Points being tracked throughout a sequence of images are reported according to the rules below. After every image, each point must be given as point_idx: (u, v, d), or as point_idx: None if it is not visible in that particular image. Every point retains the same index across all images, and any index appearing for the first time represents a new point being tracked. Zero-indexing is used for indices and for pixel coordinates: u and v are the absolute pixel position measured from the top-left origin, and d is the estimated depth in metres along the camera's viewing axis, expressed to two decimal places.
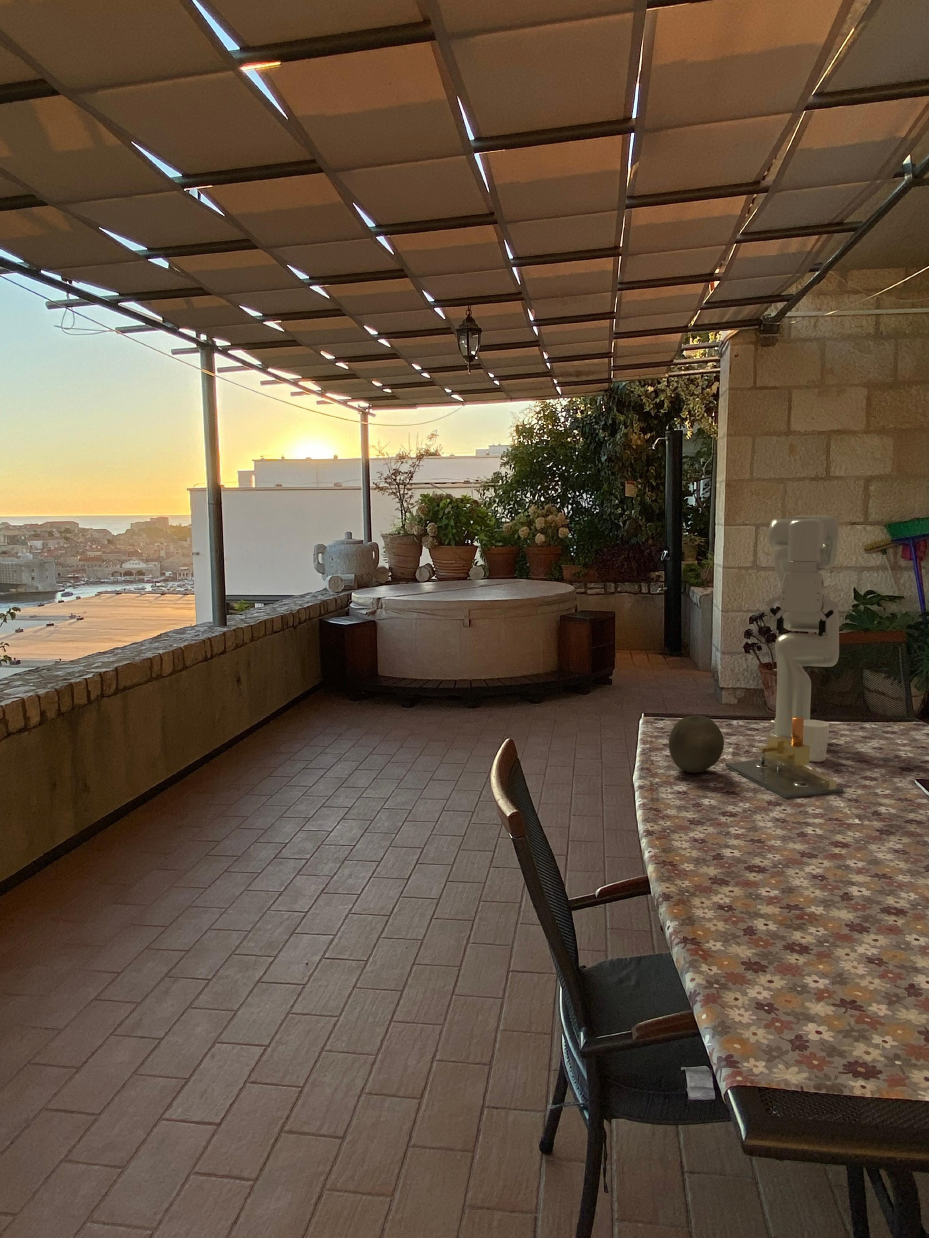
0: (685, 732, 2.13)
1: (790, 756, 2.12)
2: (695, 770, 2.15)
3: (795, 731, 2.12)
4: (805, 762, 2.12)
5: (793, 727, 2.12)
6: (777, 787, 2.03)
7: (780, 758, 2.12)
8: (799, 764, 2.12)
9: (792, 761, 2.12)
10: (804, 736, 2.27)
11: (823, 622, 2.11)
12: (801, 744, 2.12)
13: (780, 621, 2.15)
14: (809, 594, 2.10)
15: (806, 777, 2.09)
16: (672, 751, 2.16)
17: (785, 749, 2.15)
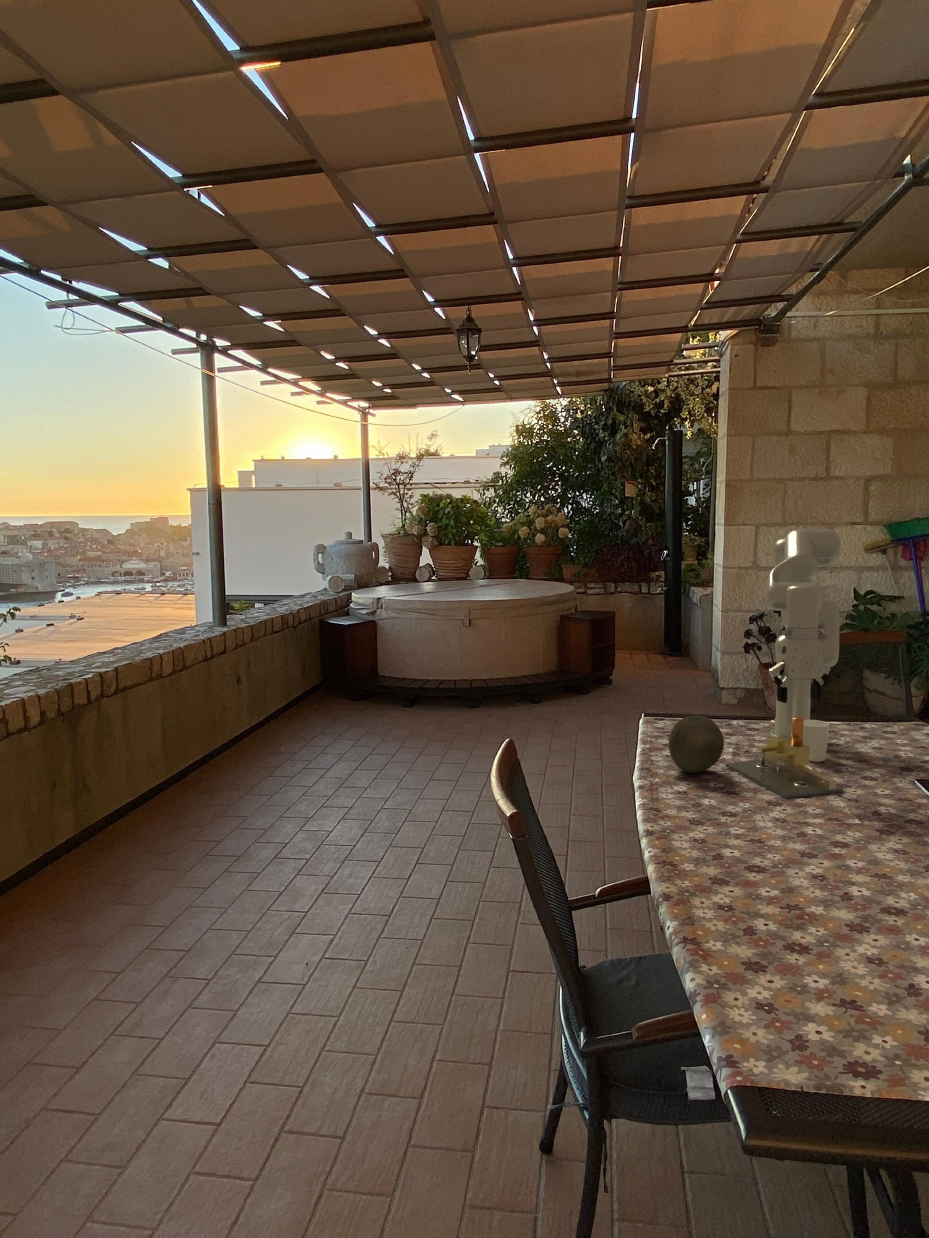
0: (685, 732, 2.13)
1: (790, 756, 2.12)
2: (695, 770, 2.15)
3: (795, 731, 2.12)
4: (805, 762, 2.12)
5: (793, 727, 2.12)
6: (777, 787, 2.03)
7: (780, 758, 2.12)
8: (799, 764, 2.12)
9: (792, 761, 2.12)
10: (804, 736, 2.27)
11: None
12: (801, 744, 2.12)
13: None
14: None
15: (806, 777, 2.09)
16: (672, 751, 2.16)
17: (785, 749, 2.15)
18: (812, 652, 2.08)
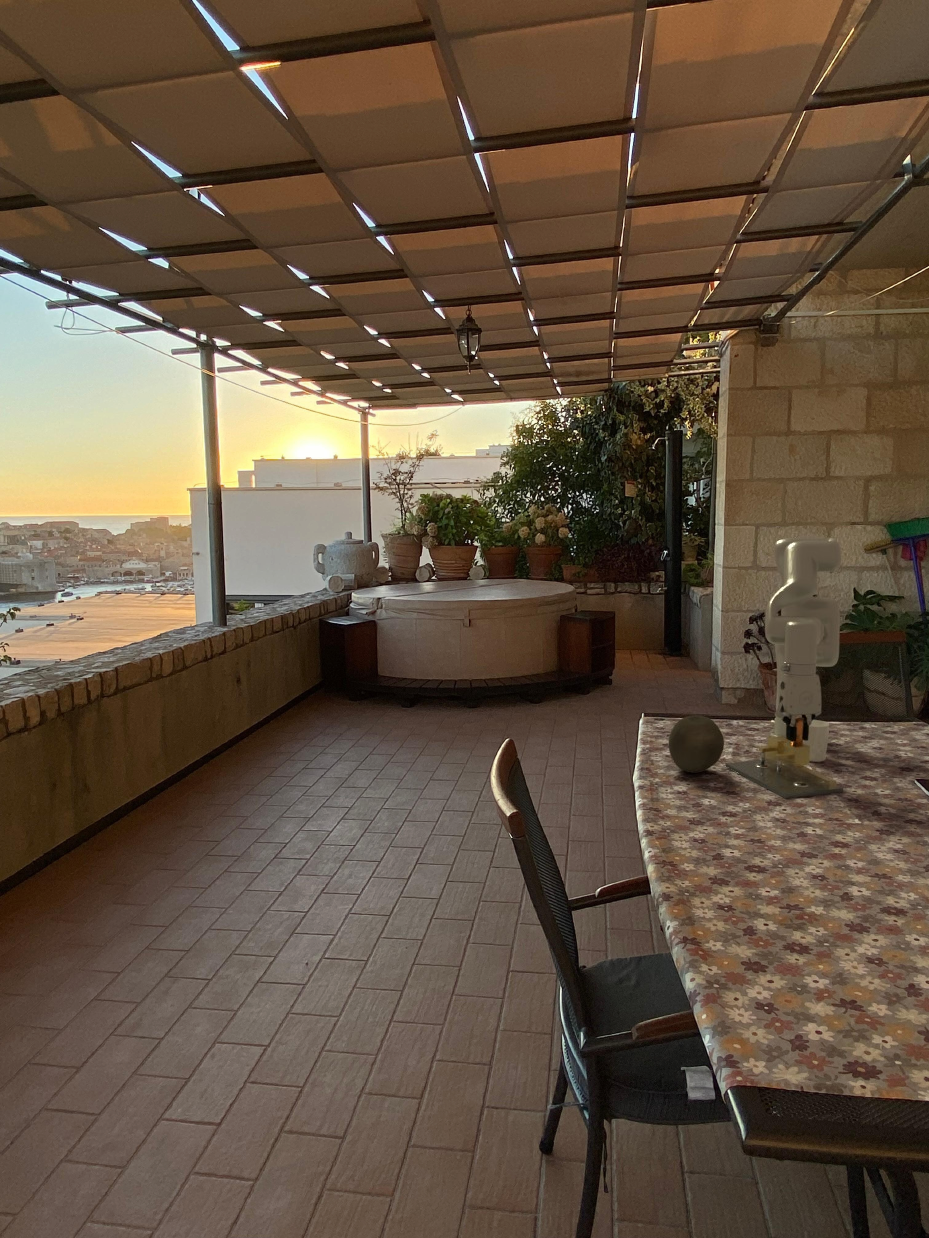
0: (685, 732, 2.13)
1: (790, 756, 2.12)
2: (695, 770, 2.15)
3: None
4: (805, 762, 2.12)
5: None
6: (777, 787, 2.03)
7: (780, 758, 2.12)
8: (799, 764, 2.12)
9: (792, 761, 2.12)
10: None
11: None
12: (801, 744, 2.12)
13: None
14: None
15: (806, 777, 2.09)
16: (672, 751, 2.16)
17: (785, 749, 2.15)
18: (811, 688, 2.09)
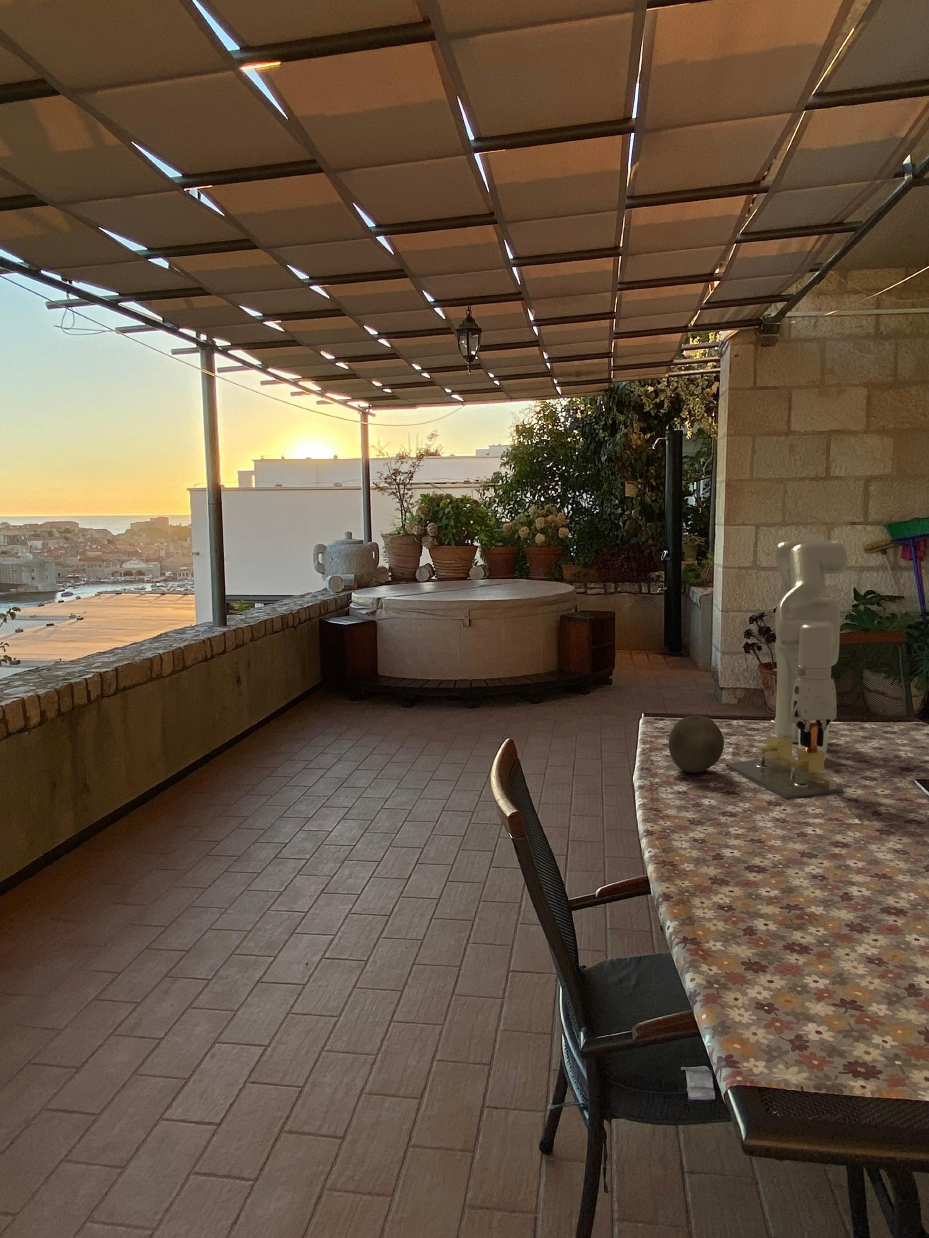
0: (685, 732, 2.13)
1: (804, 762, 2.07)
2: (695, 770, 2.15)
3: None
4: (820, 768, 2.07)
5: None
6: (777, 787, 2.03)
7: (794, 764, 2.06)
8: (813, 770, 2.06)
9: (806, 767, 2.07)
10: None
11: None
12: (815, 750, 2.07)
13: None
14: None
15: (806, 777, 2.09)
16: (673, 751, 2.16)
17: (799, 755, 2.09)
18: (826, 692, 2.04)
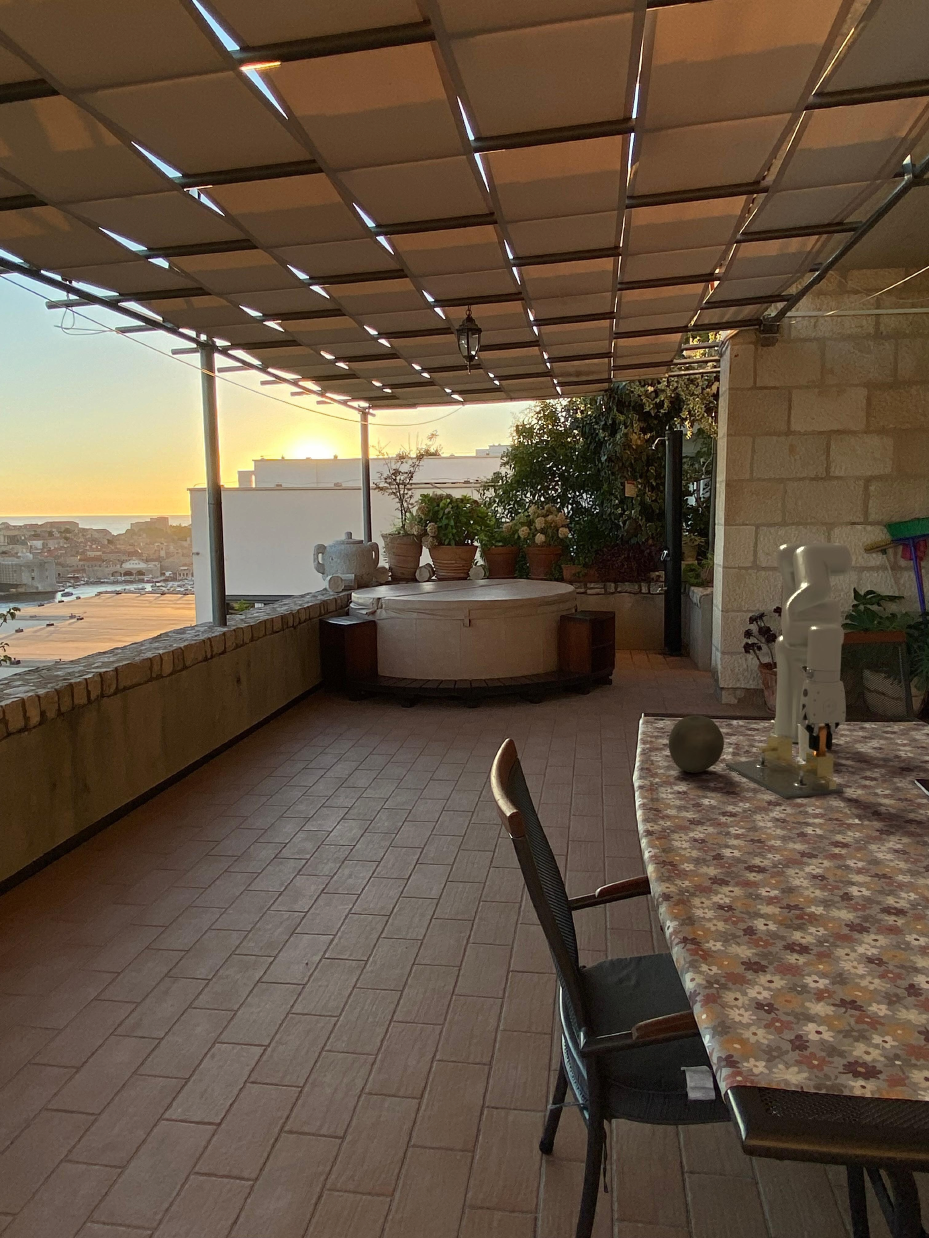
0: (685, 732, 2.13)
1: (813, 766, 2.04)
2: (695, 770, 2.15)
3: None
4: (828, 772, 2.04)
5: None
6: (777, 787, 2.03)
7: (802, 768, 2.03)
8: (822, 774, 2.03)
9: (815, 771, 2.04)
10: (804, 736, 2.27)
11: None
12: (824, 754, 2.04)
13: None
14: None
15: (806, 777, 2.09)
16: (673, 751, 2.16)
17: (807, 759, 2.06)
18: (835, 695, 2.01)
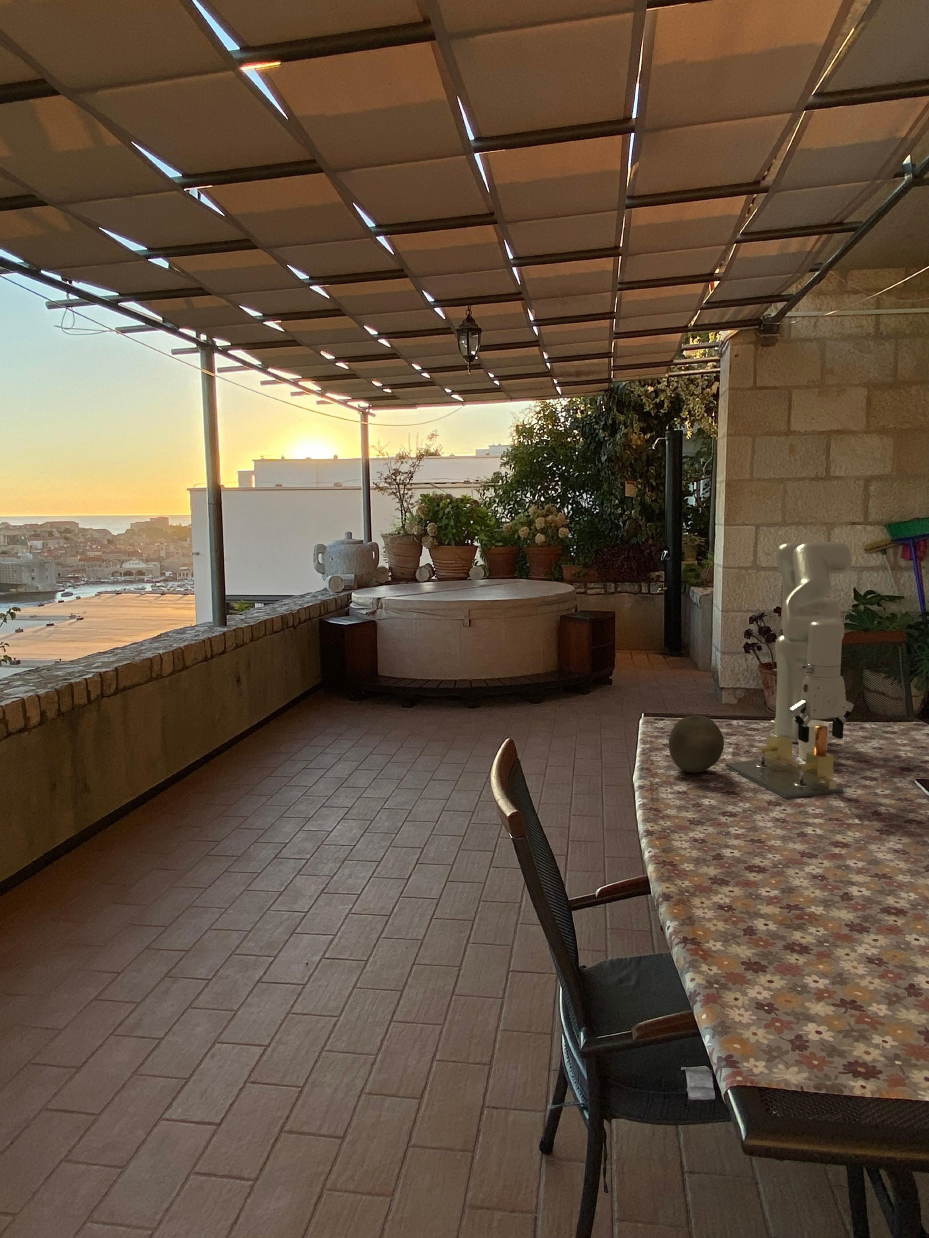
0: (685, 732, 2.13)
1: (813, 766, 2.04)
2: (695, 770, 2.15)
3: (818, 741, 2.03)
4: (829, 772, 2.04)
5: (816, 736, 2.04)
6: (777, 787, 2.03)
7: (803, 768, 2.03)
8: (822, 774, 2.03)
9: (815, 771, 2.04)
10: None
11: None
12: (824, 754, 2.04)
13: None
14: None
15: (806, 777, 2.09)
16: (672, 751, 2.16)
17: (807, 759, 2.06)
18: (835, 690, 2.01)
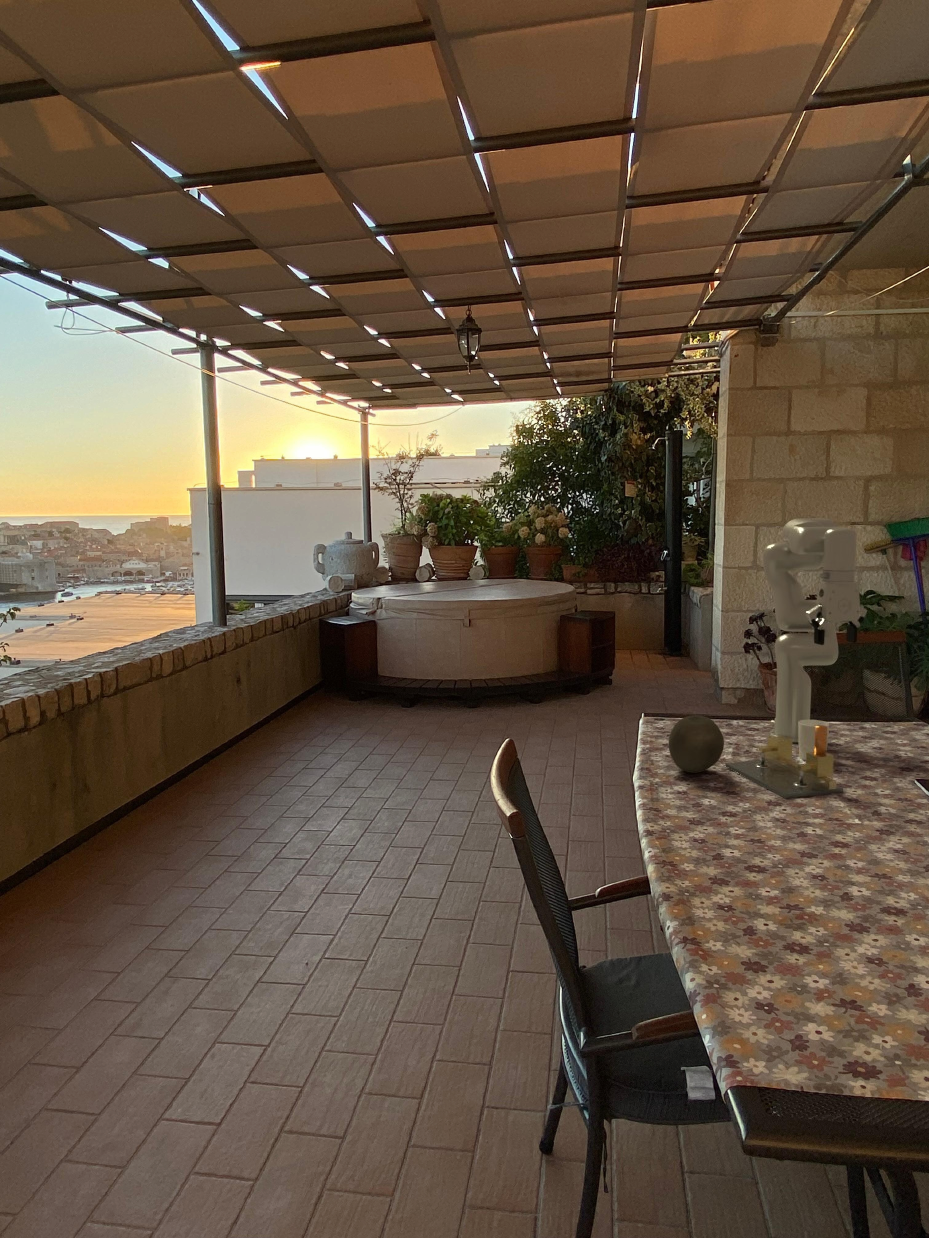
0: (685, 732, 2.13)
1: (813, 766, 2.04)
2: (695, 770, 2.15)
3: (818, 741, 2.03)
4: (829, 772, 2.04)
5: (816, 736, 2.04)
6: (777, 787, 2.03)
7: (803, 768, 2.03)
8: (822, 774, 2.03)
9: (815, 771, 2.04)
10: (804, 736, 2.27)
11: None
12: (824, 754, 2.04)
13: None
14: None
15: (806, 777, 2.09)
16: (672, 751, 2.16)
17: (807, 759, 2.06)
18: (849, 595, 2.11)
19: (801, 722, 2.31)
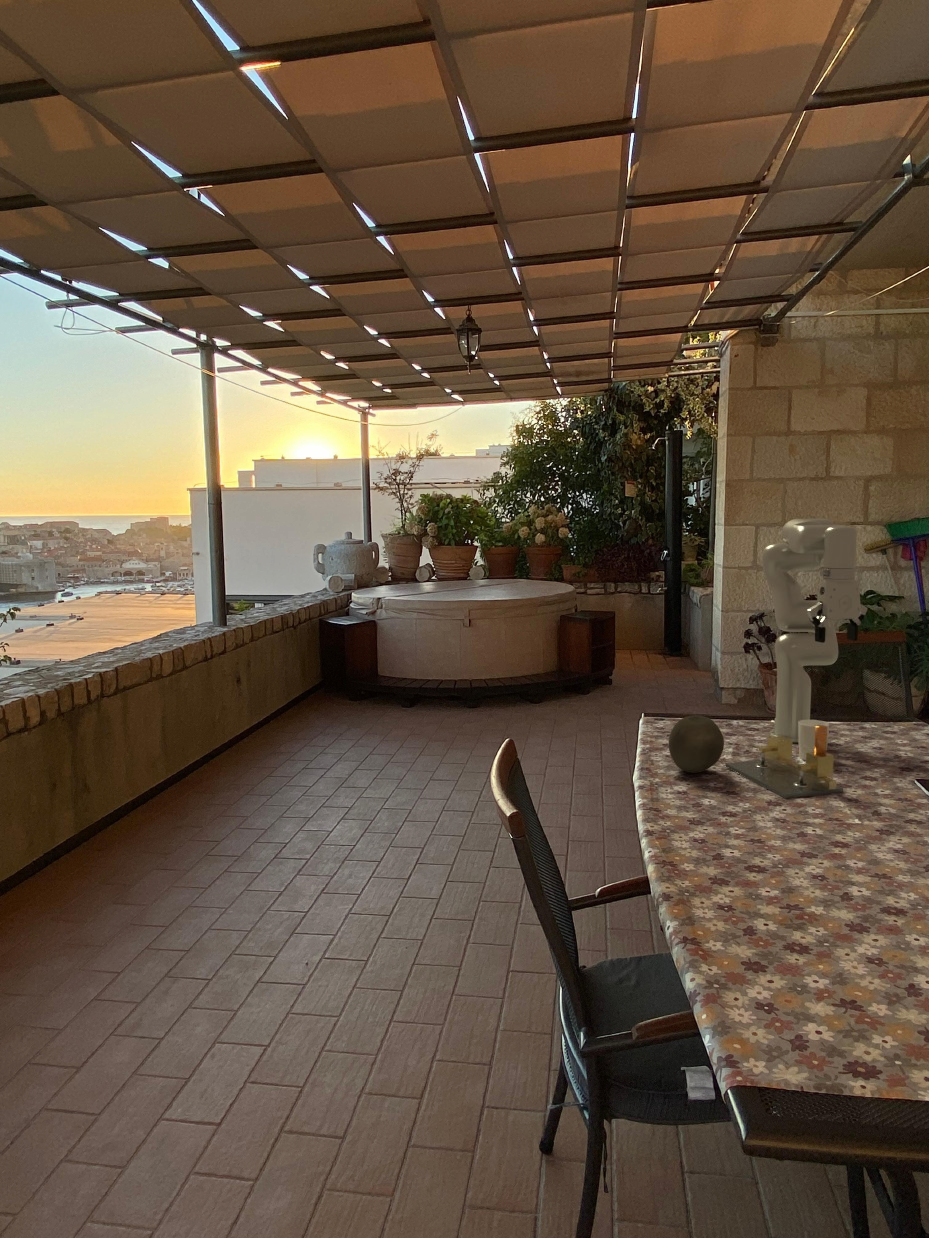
0: (685, 732, 2.13)
1: (813, 766, 2.04)
2: (695, 770, 2.15)
3: (818, 741, 2.03)
4: (829, 772, 2.04)
5: (816, 736, 2.04)
6: (777, 787, 2.03)
7: (803, 768, 2.03)
8: (822, 774, 2.03)
9: (815, 771, 2.04)
10: (804, 736, 2.27)
11: None
12: (824, 754, 2.04)
13: None
14: None
15: (806, 777, 2.09)
16: (672, 751, 2.16)
17: (807, 759, 2.06)
18: (850, 592, 2.11)
19: (801, 722, 2.31)
